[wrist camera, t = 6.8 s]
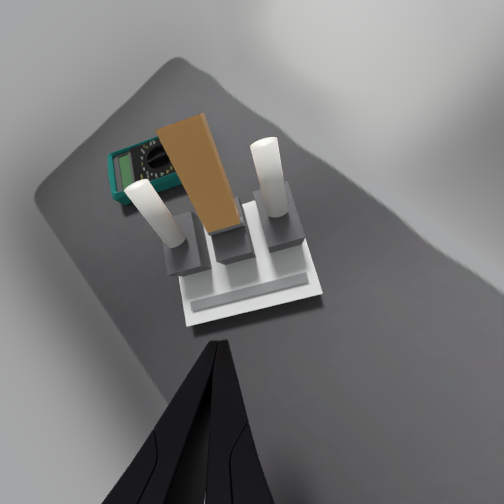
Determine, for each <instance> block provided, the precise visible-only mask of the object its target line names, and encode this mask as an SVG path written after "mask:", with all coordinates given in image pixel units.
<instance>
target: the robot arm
mask: <svg viewBox="0 0 504 504" xmlns="http://www.w3.org/2000/svg"><path fill="white" fill-rule="evenodd" d="M205 492H206V496H205ZM204 499H205V504H275V503H274V500H273V497H272V495H271V492H270V489H269V486H268V484H267V481H266V478H265V475H264V472H263V469H262V467H261V464H260V461H259V458H258V455H257V451H256V448H255V444H254V440H253V437H252V433H251V429H250V425H249V422H248V417H247V413H246V409H245V405H244V401H243V397H242V393H241V389H240V385H239V381H238V377H237V374H236V370H235V366H234V362H233V358H232V354H231V350H230V346H229V342H228V339H222V340H211V341H209V342H208V344H207V345H206V347H205V349H204V350H203V352H202V353H201V355H200V356H199V358H198V360H197V361H196V363H195V364H194V366H193V367H192V369H191V370H190V372H189V374H188V375H187V377H186V378H185V380H184V381H183V383H182V385H181V386H180V388H179V389H178V391H177V392H176V394H175V396H174V397H173V399H172V400H171V402H170V403H169V405H168V407H167V408H166V410H165V411H164V413H163V415H162V416H161V418H160V419H159V421H158V422H157V424H156V425H155V427H154V430H152V432H151V433H150V435H149V436H148V438H147V439H146V441H145V443H144V444H143V446H142V447H141V449H140V450H139V452H138V453H137V455H136V456H135V458H134V459H133V461H132V462H131V464H130V465H129V467H128V468H127V469H126V471H125V472H124V473H123V475H122V476H121V478H120V479H119V481H118V482H117V483H116V485H115V486H114V487H113V489H112V490H111V491H110V493H109V494H108V495H107V497H106V498H105V499H104V501H103V502H102V504H204Z"/></svg>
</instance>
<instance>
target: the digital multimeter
mask: <svg viewBox="0 0 504 504" xmlns="http://www.w3.org/2000/svg"><path fill="white" fill-rule="evenodd" d="M146 155H147V156H146ZM166 175H167V176H166ZM163 176H164V177H163ZM108 177H109V184H110V189H111V193H112V197H113V199H114V200H116V201H118V202H120V203H122V204H124V205H127V204H130V203H132V201H131V200H130V198H129V197H128V196H127V195H126V193H125V192H124V190H125V188H127V187H128V186H129V185H131V184H133V183H135V182H137V181H139V180H143V179H148V180H149V181H150V183H151V185H152V186H153V188H154V189H155V191H156V192H157V193H158V192H161V191H164V190H167V189H169V188H172V187H175V186H178V185H181V184H182V182H181V180H180V179H179V177H178V175H177V173H176V171H175V169H174V167H173V165H172V163H171V161H170V159H169V157H168V155H167V153H166V151H165V149H164V147H163V145H162V143H161V141H160V139H159V137H158V136H157V137H154V138H152V139H149V140H146V141H143V142H141V143H138V144H135V145H133V146H130V147H127V148H124V149H121V150H118V151H115V152H113V153H110V154H109V155H108ZM160 177H161V178H160Z"/></svg>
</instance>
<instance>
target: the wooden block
mask: <svg viewBox="0 0 504 504" xmlns="http://www.w3.org/2000/svg"><path fill="white" fill-rule="evenodd" d="M155 132H156V133H157V135H158V137H159V139H160V141H161V143H162V145H163V147H164V149H165V151H166V153H167V155H168V157H169V159H170V161H171V163H172V165H173V167H174V169H175V171H176V173H177V175H178V177H179V179H180V180H181V182H182V184H183V186H184V188H185V190H186V192H187V194H188V196H189V198H190V200H191V202H192V204H193V206H194V208H195V210H196V212H197V214H198V216H199V218H200V220H201V222H202V224H203V225H204V227H205V229H206V231H207V233H208V235H209V236H211V235H215V234H218V233H221V232H225V231H228V230H232V229H235V228H239V227H242V226H245V224H244V220H243V218H242V217H240V213H239V210H238V207H237V205H236V202H235V199H234V196H233V193H232V191H231V188H230V185H229V182H228V179H227V177H226V174H225V171H224V168H223V166H222V163H221V160H220V157H219V154H218V152H217V149H216V146H215V143H214V140H213V138H212V135H211V132H210V129H209V126H208V124H207V121H206V118H205V115H204V113H201V114H199V115H196V116H193V117H190V118H188V119H185V120H182V121H179V122H177V123H174V124H171V125H168V126H166V127H163V128H160V129H157V130H155Z"/></svg>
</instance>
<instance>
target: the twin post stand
mask: <svg viewBox="0 0 504 504" xmlns="http://www.w3.org/2000/svg"><path fill="white" fill-rule="evenodd" d="M250 148H251V152H252V155H253V159H254V163H255V167H256V171H257V175H258V179H259V183H260V187H261V189H260V190H257V191H254V192H253V195H254V198H255V201H252V202H249V203H245V204H241V202H240V200H239V198H238V196H237V197H234V199H235V202H236V205H237V207H238V210H239V213H240V217H242V218H243V220H244V224H245V226H242V227H239V228H235V229H232V230H228V231H225V232H221V233H218V234H215V235H211V236H209V235H208V233H207V231H206V229H205V227H204V225H203V224H202V222H201V220H200V218H199V217H197V216H196V215H195V214H194V213H193V212H191V211H189V212H186V213H182V214H179V215H176V216H172V215H171V213H170V212H169V210H168V209H167V207H166V206H165V204H164V203H163V201H162V200H161V198H160V197H159V195H158V194H157V192H156V191H155V189H154V188H153V186H152V185H151V183H150V182H149V180H148V179H143V180H139V181H137V182H135V183H133V184H131V185H129V186H128V187H127V188H125V190H124V192H125V193H126V195H127V196H128V197H129V198H130V200H131V201H132V202H133V204H134V205H135V206H136V207H137V209H138V210H139V211H140V212H141V214H142V215H143V216H144V217H145V219H146V220H147V221H148V223H149V224H150V225H151V226H152V228H153V229H154V230H155V231H156V233H157V234H158V235H159V236H160V238H161V239H162V240H163V246H164V253H165V260H166V267H167V274H168V275H172V276H179V282H180V288H181V294H182V301H183V307H184V313H185V319H186V326H191V325H195V324H200V323H204V322H208V321H212V320H216V319H220V318H224V317H229V316H233V315H237V314H241V313H245V312H249V311H253V310H258V309H262V308H266V307H270V306H274V305H278V304H282V303H286V302H291V301H295V300H299V299H303V298H307V297H311V296H315V295H320V294H323V293H322V290H321V286H320V283H319V280H318V277H317V274H316V271H315V267H314V264H313V261H312V258H311V255H310V252H309V249H308V245H307V242H306V239H305V235H304V232H303V228H302V225H301V222H300V219H299V216H298V213H297V210H296V206H295V203H294V200H293V197H292V194H291V191H290V188H289V184H288V181H286V182H284V179H283V173H282V166H281V160H280V154H279V148H278V142H277V138H276V137H269V138H264V139H261V140H258V141H256V142H254V143H253V144H252V145H251V146H250Z"/></svg>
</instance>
